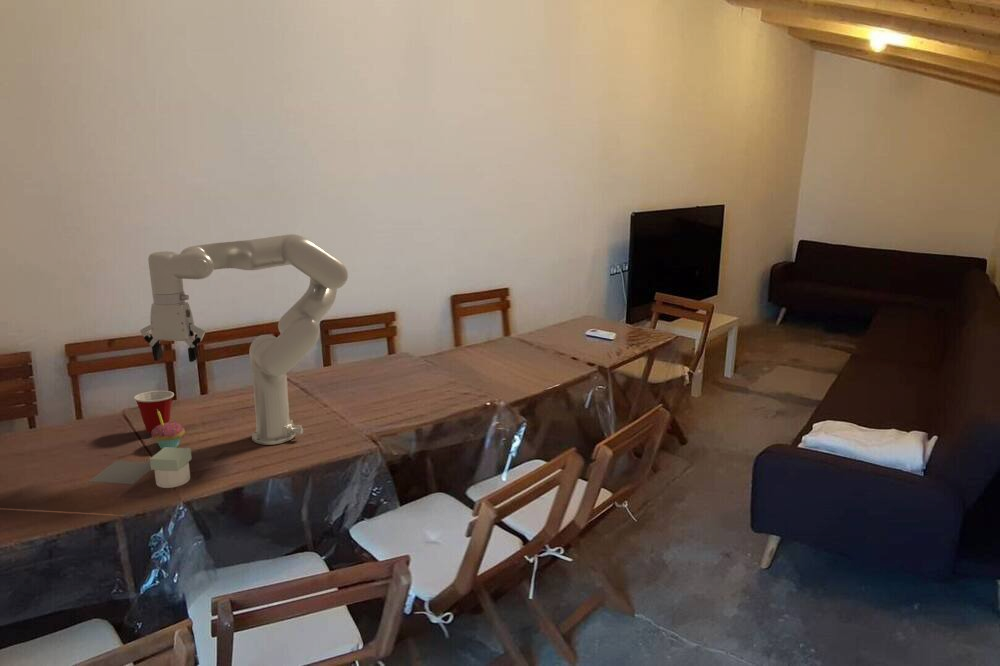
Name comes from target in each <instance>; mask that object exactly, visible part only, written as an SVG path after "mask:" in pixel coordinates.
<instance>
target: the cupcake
mask: <svg viewBox="0 0 1000 666" xmlns="http://www.w3.org/2000/svg"><path fill="white" fill-rule="evenodd" d="M157 411H158V409H157ZM157 413H158V416H159V419H160V422H161V425H158V426H157V427H156V428H154V430H153V431H152V432H151V433H152V434H151V435H150V436H151V437H152V439H153V440H155V441H156V442H157V444H158V446H159V448H160V450H162V449H163V448H164V447H173V448H178V446H179V444H180V440H181V438H182V437H183V436H184V435H185V432H186V431H185V428H184V426H183V425H182V424H180V423H179V422H178V423H177V422H174V421H173V422H170V421H169V422H168V423H163V420H162V417H161V414H160V411H158V412H157Z"/></svg>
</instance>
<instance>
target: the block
mask: <svg viewBox="0 0 1000 666" xmlns="http://www.w3.org/2000/svg"><path fill="white" fill-rule="evenodd" d="M192 458H193V457H192V450H191V448H190V447H175V448H173V447H164V448H163V449H160V450H159V451H157V453H155V454H154V455H152V456H151V457H150V458H149V462H150V465H151V470H150V471H154V470H166V471H179V470H180V469H181V468H182V467H183V466H184V465H185V464H186V463H188V462H190V461H191V460H192Z"/></svg>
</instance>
